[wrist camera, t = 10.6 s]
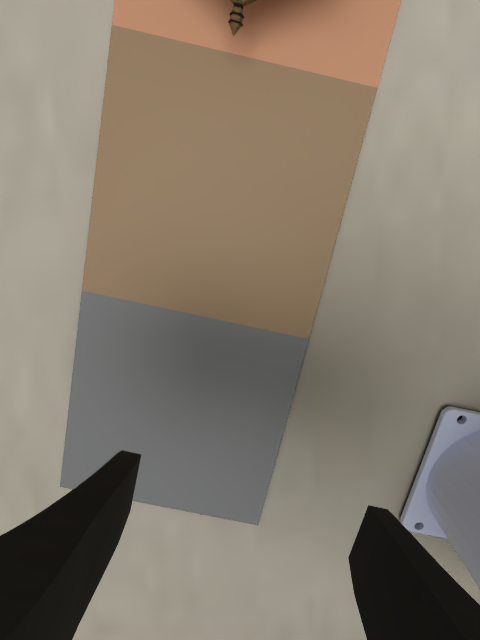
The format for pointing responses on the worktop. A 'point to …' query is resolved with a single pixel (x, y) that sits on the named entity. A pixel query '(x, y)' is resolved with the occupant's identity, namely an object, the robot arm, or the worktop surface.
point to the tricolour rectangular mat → (214, 236)
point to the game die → (237, 14)
